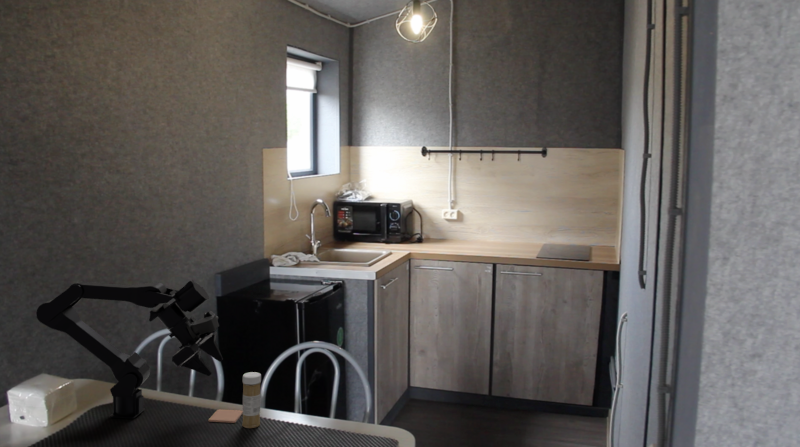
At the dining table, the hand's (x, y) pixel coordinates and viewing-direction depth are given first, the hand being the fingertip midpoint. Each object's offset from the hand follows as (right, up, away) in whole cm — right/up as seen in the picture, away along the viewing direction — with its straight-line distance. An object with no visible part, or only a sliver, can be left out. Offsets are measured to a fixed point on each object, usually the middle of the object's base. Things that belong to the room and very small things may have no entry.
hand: (216, 367), depth 159 cm
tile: (+3, -13, -1) cm, 13 cm away
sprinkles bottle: (+11, -14, -6) cm, 18 cm away
